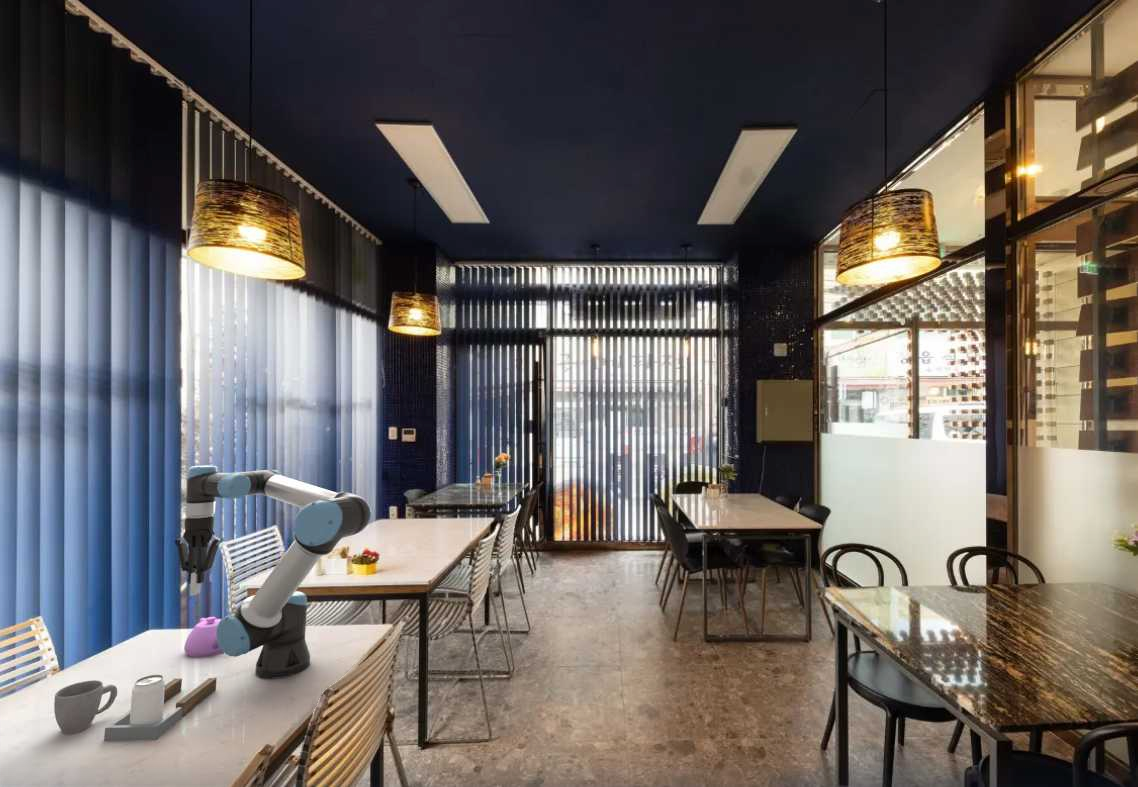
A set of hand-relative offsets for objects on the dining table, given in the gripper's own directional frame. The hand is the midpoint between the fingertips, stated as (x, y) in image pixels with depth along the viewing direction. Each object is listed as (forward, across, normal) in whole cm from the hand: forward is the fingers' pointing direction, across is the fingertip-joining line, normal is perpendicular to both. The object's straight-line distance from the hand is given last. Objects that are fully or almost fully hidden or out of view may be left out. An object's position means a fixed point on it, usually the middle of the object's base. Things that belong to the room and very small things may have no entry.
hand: (195, 593), depth 160 cm
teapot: (+25, +6, -19) cm, 32 cm away
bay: (+24, -7, +28) cm, 38 cm away
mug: (+25, +9, +26) cm, 37 cm away
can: (+25, -7, +28) cm, 38 cm away
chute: (+24, -7, +16) cm, 30 cm away
